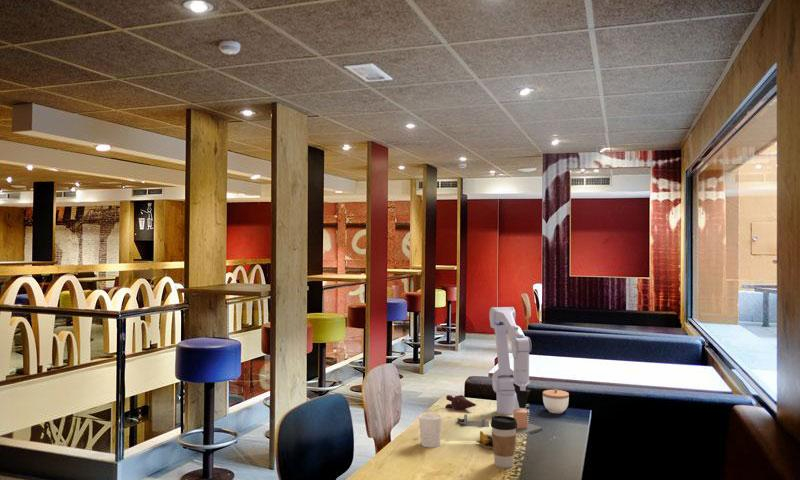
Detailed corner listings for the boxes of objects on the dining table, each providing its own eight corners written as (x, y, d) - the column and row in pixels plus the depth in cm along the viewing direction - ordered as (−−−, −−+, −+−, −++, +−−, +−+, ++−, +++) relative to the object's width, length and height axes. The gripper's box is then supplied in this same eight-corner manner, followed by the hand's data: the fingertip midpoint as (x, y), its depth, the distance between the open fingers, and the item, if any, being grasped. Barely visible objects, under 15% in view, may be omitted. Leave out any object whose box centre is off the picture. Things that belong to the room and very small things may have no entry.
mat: (519, 423, 236) (519, 420, 236) (542, 430, 228) (542, 427, 228) (500, 428, 230) (500, 426, 230) (523, 436, 221) (523, 433, 221)
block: (513, 428, 227) (513, 412, 227) (513, 424, 231) (513, 409, 231) (527, 428, 226) (527, 412, 226) (526, 425, 230) (526, 409, 230)
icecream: (480, 396, 252) (451, 394, 262) (471, 395, 247) (441, 393, 256) (480, 413, 250) (450, 410, 260) (470, 413, 245) (440, 410, 254)
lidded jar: (542, 414, 249) (542, 391, 249) (542, 407, 259) (542, 385, 259) (569, 415, 246) (569, 392, 246) (568, 408, 257) (568, 386, 257)
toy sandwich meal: (506, 438, 219) (506, 425, 219) (519, 451, 206) (519, 437, 206) (473, 440, 218) (473, 427, 218) (484, 453, 204) (484, 439, 204)
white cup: (444, 442, 215) (444, 414, 215) (438, 449, 207) (438, 420, 207) (422, 439, 217) (422, 412, 217) (416, 446, 210) (416, 418, 210)
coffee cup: (487, 460, 197) (487, 414, 197) (513, 459, 198) (513, 413, 198) (494, 470, 189) (494, 422, 189) (520, 469, 189) (520, 421, 189)
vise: (457, 428, 230) (457, 419, 230) (457, 422, 237) (457, 413, 237) (489, 429, 229) (489, 420, 229) (488, 423, 236) (488, 414, 236)
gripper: (509, 365, 236) (509, 399, 236) (511, 373, 222) (511, 410, 222) (527, 365, 236) (527, 400, 236) (531, 373, 221) (531, 410, 221)
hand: (521, 405), depth 229 cm, fingers open, 7 cm apart
